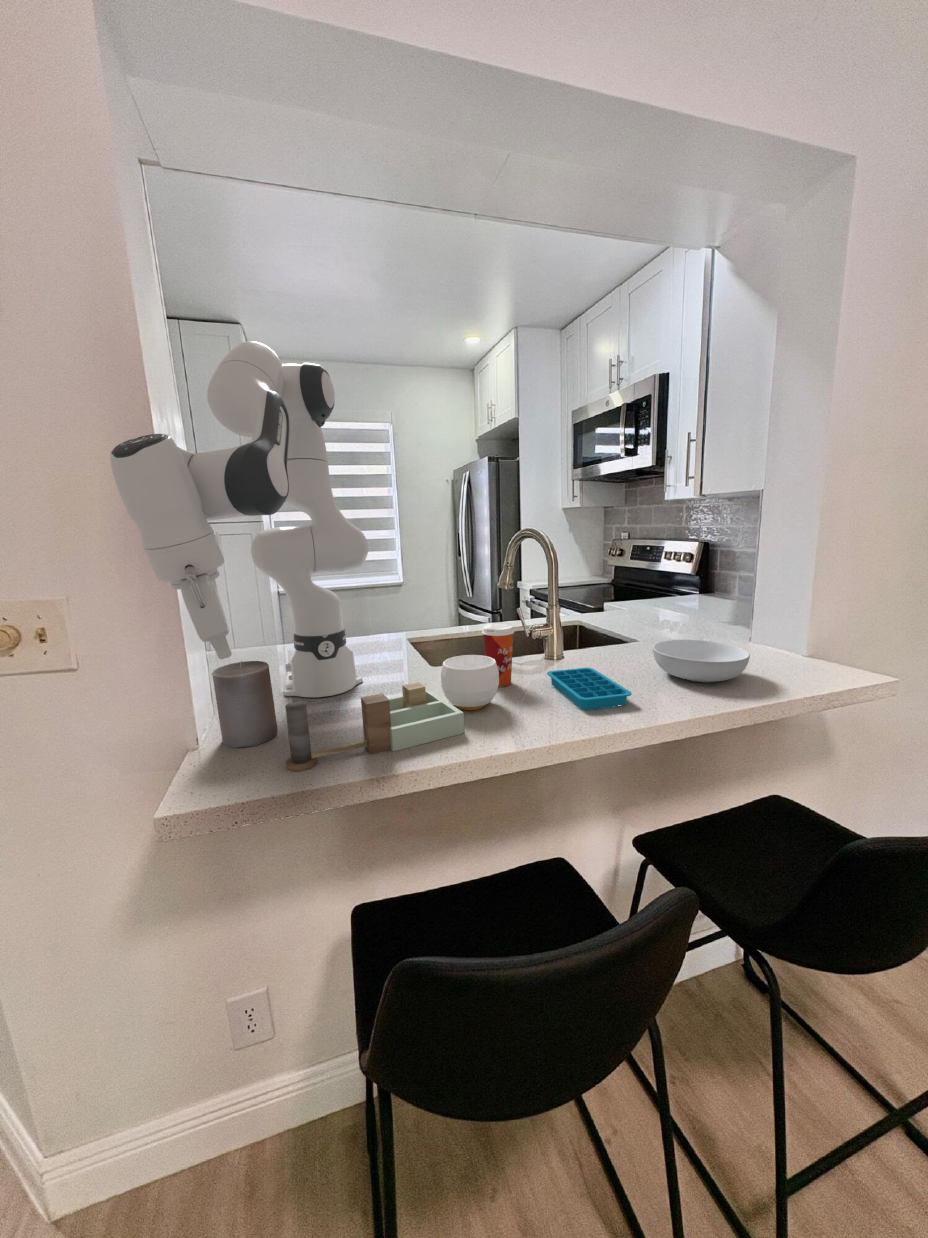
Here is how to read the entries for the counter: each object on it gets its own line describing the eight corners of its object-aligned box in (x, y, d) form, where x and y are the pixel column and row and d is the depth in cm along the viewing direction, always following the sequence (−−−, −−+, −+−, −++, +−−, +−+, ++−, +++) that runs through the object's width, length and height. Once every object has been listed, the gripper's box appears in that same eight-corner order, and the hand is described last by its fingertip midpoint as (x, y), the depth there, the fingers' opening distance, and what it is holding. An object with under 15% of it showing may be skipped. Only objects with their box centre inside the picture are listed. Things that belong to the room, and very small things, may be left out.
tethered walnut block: (284, 761, 84) (278, 702, 82) (385, 739, 91) (381, 685, 89) (287, 774, 79) (280, 712, 77) (393, 750, 86) (389, 693, 84)
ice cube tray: (581, 714, 100) (581, 700, 99) (545, 683, 119) (545, 671, 119) (633, 707, 102) (634, 694, 102) (590, 678, 122) (590, 667, 121)
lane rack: (365, 722, 99) (364, 703, 98) (429, 707, 106) (428, 689, 105) (393, 751, 86) (391, 729, 85) (464, 732, 92) (463, 712, 91)
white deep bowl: (448, 694, 113) (446, 653, 111) (502, 696, 111) (501, 654, 109) (436, 715, 101) (434, 670, 99) (496, 717, 99) (495, 670, 97)
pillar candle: (261, 722, 101) (252, 651, 98) (287, 734, 94) (277, 658, 92) (213, 740, 94) (200, 663, 91) (237, 754, 87) (225, 672, 84)
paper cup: (506, 690, 115) (505, 631, 112) (477, 685, 119) (475, 628, 116) (520, 680, 121) (520, 624, 118) (493, 676, 125) (491, 622, 123)
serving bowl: (727, 698, 105) (729, 666, 104) (635, 678, 120) (636, 650, 119) (761, 675, 119) (763, 647, 117) (675, 660, 134) (676, 635, 133)
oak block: (404, 718, 100) (402, 685, 99) (420, 714, 102) (418, 682, 101) (410, 724, 97) (408, 690, 96) (427, 720, 99) (425, 686, 98)
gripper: (216, 568, 62) (253, 663, 68) (207, 540, 79) (237, 618, 85) (161, 583, 60) (204, 680, 65) (163, 551, 76) (197, 630, 82)
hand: (222, 645), depth 75 cm, fingers open, 8 cm apart
